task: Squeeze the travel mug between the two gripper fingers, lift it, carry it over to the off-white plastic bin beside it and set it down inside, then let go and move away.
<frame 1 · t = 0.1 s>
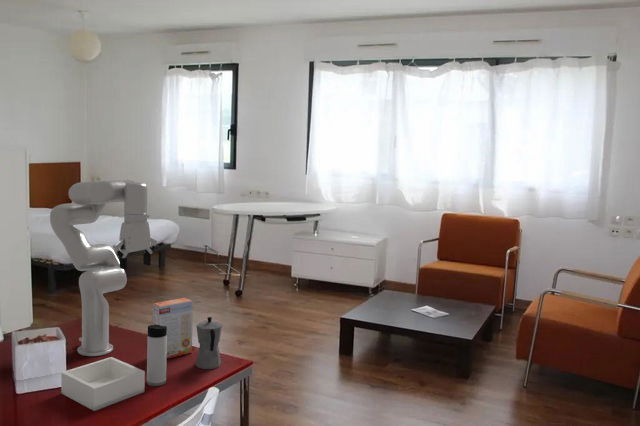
hand: (135, 266, 202), 37 cm above the table, tool pointing down, fingers open, 9 cm apart
coffeepot: (208, 366, 212), on the table
cracker box: (172, 355, 220), on the table
bin: (103, 392, 186), on the table
travel mug: (156, 383, 195), on the table
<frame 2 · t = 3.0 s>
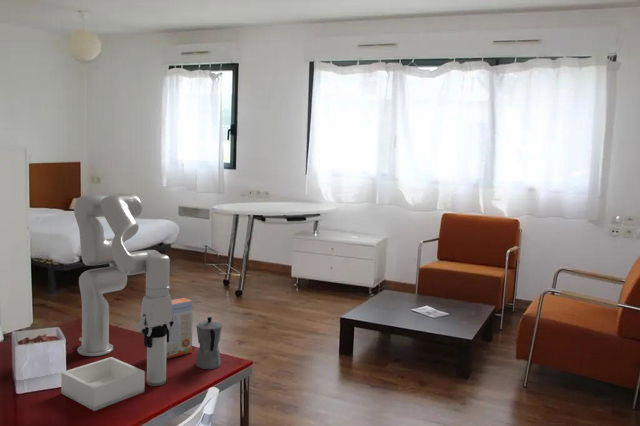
hand: (156, 343, 193), 14 cm above the table, tool pointing down, fingers closed on travel mug, 6 cm apart
travel mug: (156, 383, 195), on the table, touching gripper
everything else where it was.
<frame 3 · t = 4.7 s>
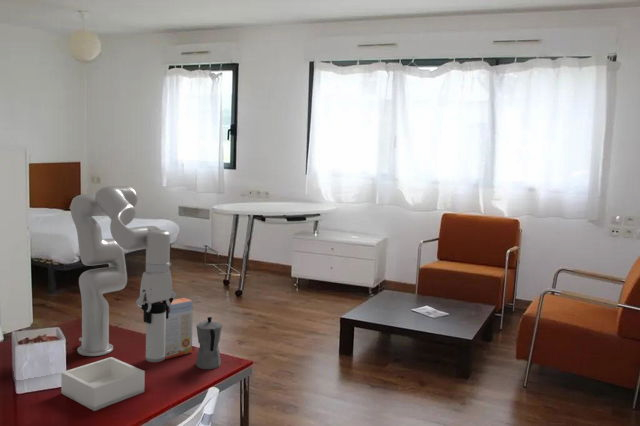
hand: (156, 319, 193), 22 cm above the table, tool pointing down, fingers closed on travel mug, 6 cm apart
travel mug: (154, 359, 195), point 8 cm above the table, touching gripper
everything else where it was.
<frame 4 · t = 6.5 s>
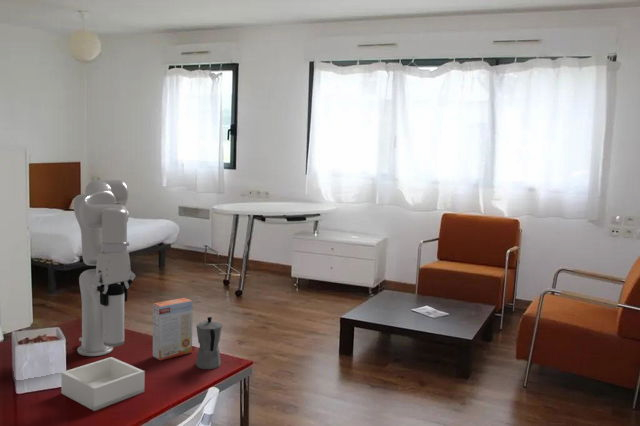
hand: (113, 302, 184), 29 cm above the table, tool pointing down, fingers closed on travel mug, 6 cm apart
travel mug: (113, 344, 186), point 16 cm above the table, touching gripper
everything else where it was.
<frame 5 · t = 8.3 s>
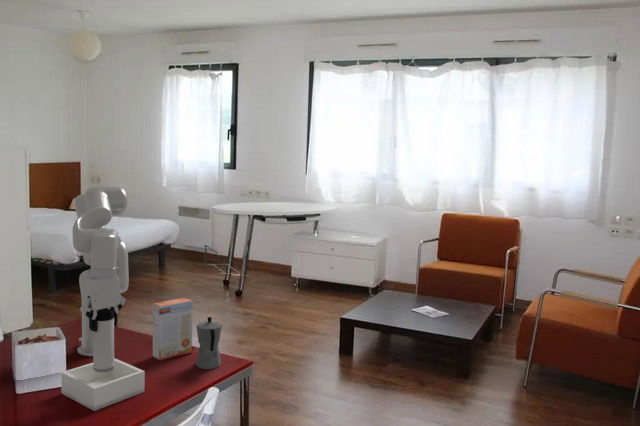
hand: (103, 327, 183), 22 cm above the table, tool pointing down, fingers closed on travel mug, 6 cm apart
travel mug: (103, 369, 185), point 8 cm above the table, touching gripper
everything else where it was.
when the fingers open (16 cm above the table, at t = 9.8 s): travel mug drops 1 cm, resting on bin.
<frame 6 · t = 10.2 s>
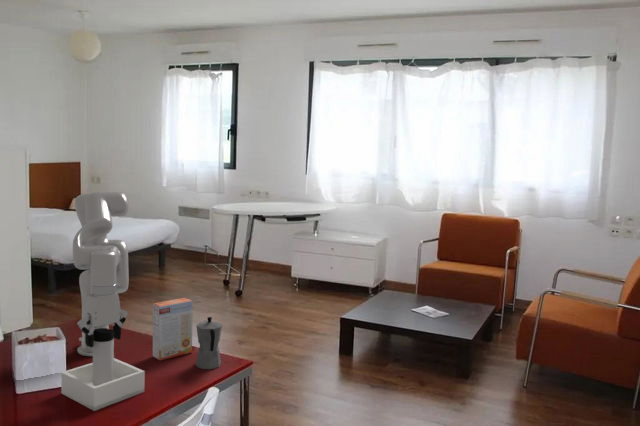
hand: (103, 342, 184), 17 cm above the table, tool pointing down, fingers open, 9 cm apart
travel mug: (102, 389, 186), point 1 cm above the table, touching bin
everything else where it was.
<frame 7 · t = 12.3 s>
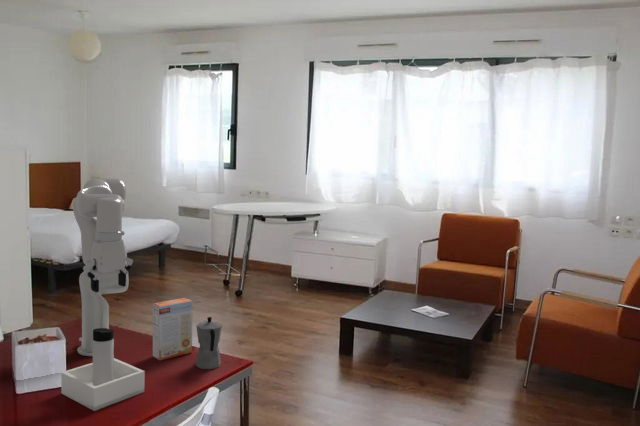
hand: (108, 288, 187), 33 cm above the table, tool pointing down, fingers open, 9 cm apart
nothing on the table moved.
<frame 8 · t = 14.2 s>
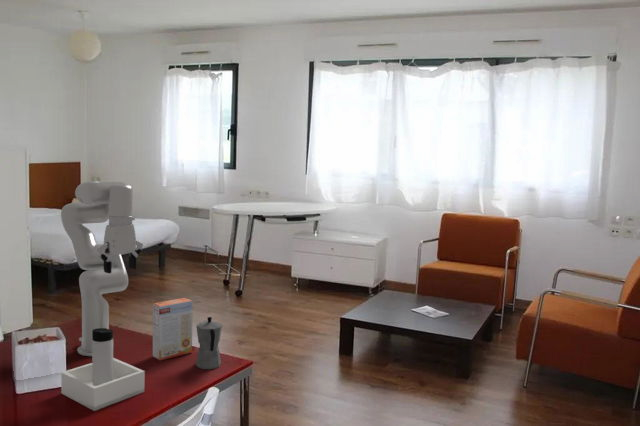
hand: (120, 270, 197), 36 cm above the table, tool pointing down, fingers open, 9 cm apart
nothing on the table moved.
at the end: travel mug inside the target area on the bin (0.2 cm from its centre), point 1.0 cm above the bin's base; travel mug tilted 0°; the gripper is holding nothing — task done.
